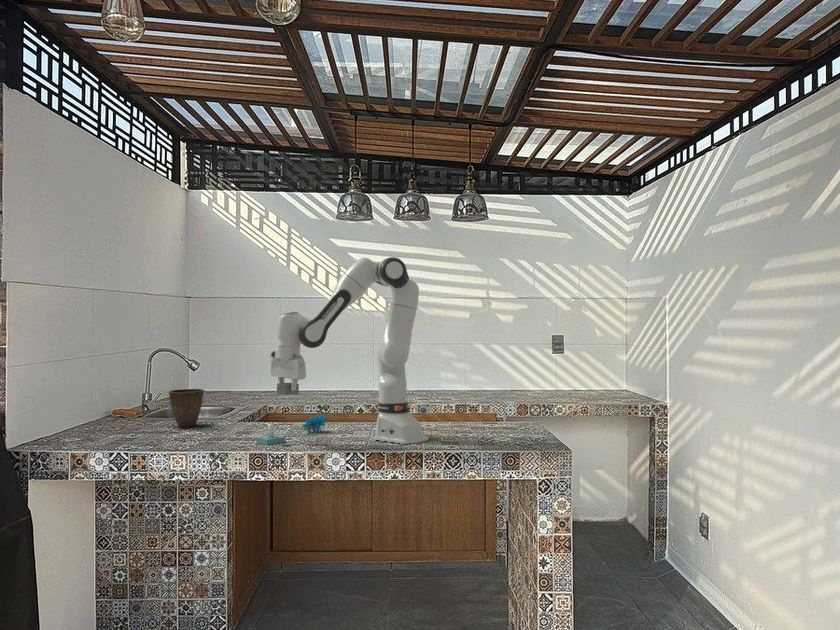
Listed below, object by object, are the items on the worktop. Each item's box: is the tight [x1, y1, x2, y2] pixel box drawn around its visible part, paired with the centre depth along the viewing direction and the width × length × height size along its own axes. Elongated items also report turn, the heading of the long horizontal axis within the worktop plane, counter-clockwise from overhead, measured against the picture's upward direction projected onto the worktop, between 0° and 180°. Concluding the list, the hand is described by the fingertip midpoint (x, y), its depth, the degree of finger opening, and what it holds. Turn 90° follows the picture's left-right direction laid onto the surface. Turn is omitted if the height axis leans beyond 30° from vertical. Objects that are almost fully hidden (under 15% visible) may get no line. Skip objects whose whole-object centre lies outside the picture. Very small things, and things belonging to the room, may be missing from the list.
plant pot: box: [168, 388, 205, 428], centre depth 292 cm, size 15×15×16 cm
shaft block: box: [255, 423, 286, 446], centre depth 252 cm, size 8×8×7 cm
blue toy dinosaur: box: [301, 414, 327, 434], centre depth 273 cm, size 11×6×10 cm
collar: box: [276, 382, 300, 396], centre depth 252 cm, size 6×6×4 cm
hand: (287, 389), depth 252 cm, fingers closed on collar, 6 cm apart
